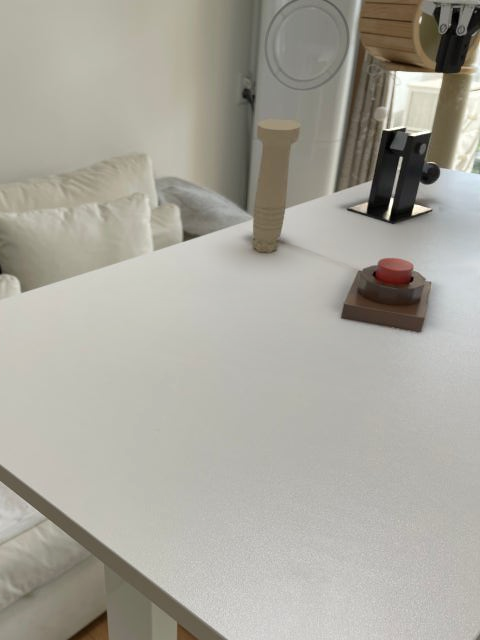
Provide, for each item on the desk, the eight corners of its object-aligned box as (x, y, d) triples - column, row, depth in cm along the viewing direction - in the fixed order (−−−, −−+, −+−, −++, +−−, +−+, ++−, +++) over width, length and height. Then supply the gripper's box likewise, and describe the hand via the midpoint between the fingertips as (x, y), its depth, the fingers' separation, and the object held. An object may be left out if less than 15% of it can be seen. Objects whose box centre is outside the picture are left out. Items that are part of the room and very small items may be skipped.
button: (377, 271, 70) (380, 255, 69) (411, 276, 69) (415, 260, 68) (372, 283, 68) (376, 267, 67) (408, 288, 67) (412, 272, 66)
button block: (355, 284, 75) (361, 254, 73) (427, 296, 73) (435, 266, 71) (340, 318, 68) (346, 287, 66) (420, 333, 65) (429, 301, 63)
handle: (285, 242, 86) (301, 120, 78) (281, 260, 81) (298, 131, 73) (249, 239, 87) (260, 118, 78) (243, 256, 82) (255, 128, 73)
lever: (418, 185, 101) (428, 165, 100) (436, 190, 99) (447, 169, 98) (384, 149, 91) (395, 127, 90) (404, 154, 89) (416, 131, 88)
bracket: (385, 204, 101) (402, 122, 95) (430, 217, 96) (452, 131, 90) (345, 216, 96) (361, 130, 89) (391, 230, 91) (411, 140, 84)
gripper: (584, -122, 67) (520, 79, 77) (453, -114, 76) (412, 64, 87) (549, -131, 63) (487, 82, 73) (416, -121, 72) (378, 66, 83)
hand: (447, 72), depth 80 cm, fingers closed
